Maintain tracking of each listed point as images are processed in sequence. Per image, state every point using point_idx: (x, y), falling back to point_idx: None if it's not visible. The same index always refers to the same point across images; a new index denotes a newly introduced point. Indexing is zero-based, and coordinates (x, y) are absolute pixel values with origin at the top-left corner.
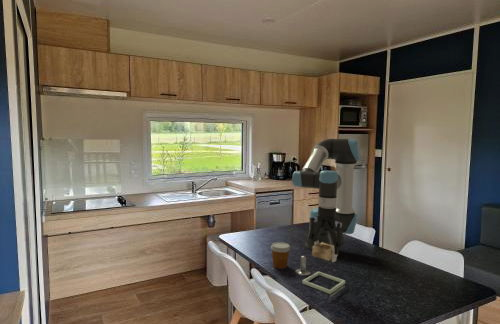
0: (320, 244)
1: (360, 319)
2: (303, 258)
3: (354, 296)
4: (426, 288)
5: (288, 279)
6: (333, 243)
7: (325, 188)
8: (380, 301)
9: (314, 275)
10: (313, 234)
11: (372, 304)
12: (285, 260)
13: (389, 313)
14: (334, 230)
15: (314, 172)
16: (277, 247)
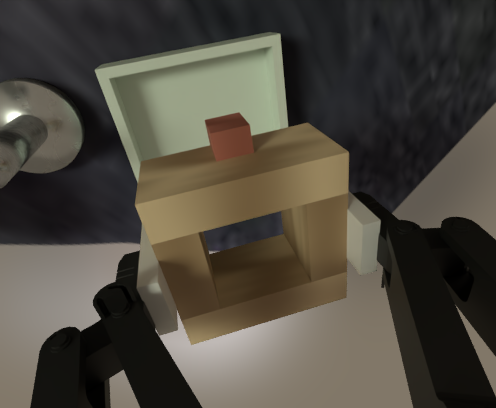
0: (188, 263)
1: (411, 192)
2: (9, 180)
3: (344, 82)
4: None
5: (59, 219)
6: (388, 295)
7: None
8: (440, 19)
9: (128, 130)
10: (76, 381)
11: (419, 76)
12: None
13: (479, 81)
14: (493, 405)
15: None
16: None
